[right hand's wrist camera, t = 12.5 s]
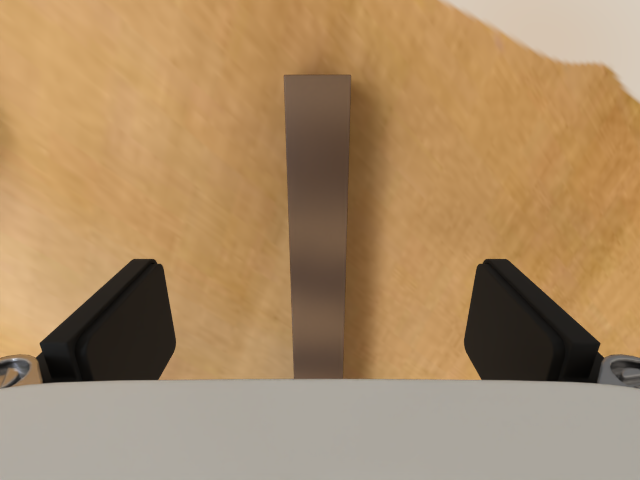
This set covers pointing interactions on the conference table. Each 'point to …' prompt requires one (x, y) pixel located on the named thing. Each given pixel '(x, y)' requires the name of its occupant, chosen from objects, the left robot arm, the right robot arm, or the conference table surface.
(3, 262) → the conference table surface
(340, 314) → the bar
